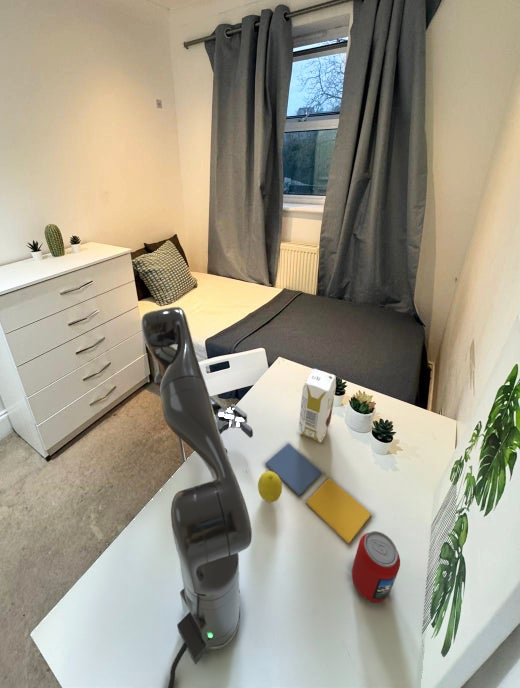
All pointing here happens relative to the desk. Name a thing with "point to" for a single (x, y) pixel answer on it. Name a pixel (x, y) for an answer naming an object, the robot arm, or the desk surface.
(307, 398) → the juice carton
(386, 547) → the beverage can
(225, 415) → the robot arm
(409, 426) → the desk surface
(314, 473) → the slate mat
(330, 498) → the mustard mat
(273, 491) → the lemon
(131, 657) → the desk surface
